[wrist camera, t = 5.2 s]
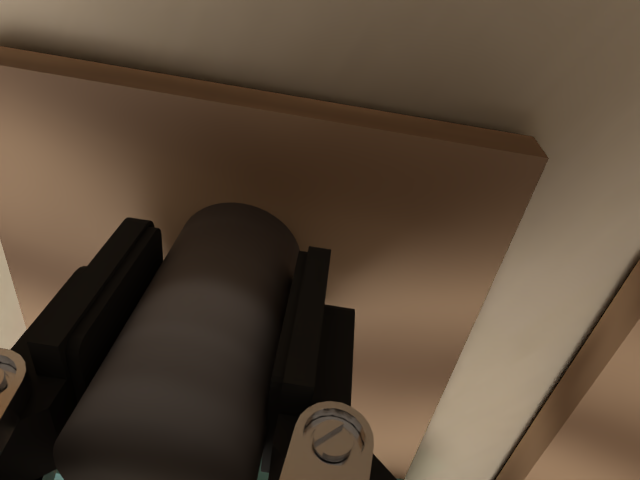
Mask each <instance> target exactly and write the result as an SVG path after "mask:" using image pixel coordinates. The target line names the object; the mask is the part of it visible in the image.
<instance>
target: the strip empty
mask: <svg viewBox="0 0 640 480" xmlns="http://www.w3.org/2000/svg"><path fill="white" fill-rule="evenodd" d="M496 480H640V260H639V261H638V263H637V264H636V266H635V267H634V269H633V270H632V272H631V273H630V275H629V276H628V278H627V279H626V281H625V282H624V284H623V286H622V287H621V289H620V290H619V292H618V293H617V295H616V296H615V298H614V299H613V301H612V302H611V304H610V305H609V307H608V308H607V310H606V311H605V313H604V315H603V316H602V318H601V319H600V321H599V322H598V324H597V325H596V327H595V328H594V330H593V331H592V333H591V334H590V336H589V337H588V339H587V341H586V342H585V344H584V345H583V347H582V348H581V350H580V351H579V353H578V354H577V356H576V357H575V359H574V360H573V362H572V363H571V365H570V367H569V368H568V370H567V371H566V373H565V374H564V376H563V377H562V379H561V380H560V382H559V383H558V385H557V386H556V388H555V389H554V391H553V393H552V394H551V396H550V397H549V399H548V400H547V402H546V403H545V405H544V406H543V408H542V409H541V411H540V412H539V414H538V415H537V417H536V418H535V420H534V422H533V423H532V425H531V426H530V428H529V429H528V431H527V432H526V434H525V435H524V437H523V438H522V440H521V441H520V443H519V444H518V446H517V448H516V449H515V451H514V452H513V454H512V455H511V457H510V458H509V460H508V461H507V463H506V464H505V466H504V467H503V469H502V470H501V472H500V474H499V475H498V477H497V478H496Z"/></svg>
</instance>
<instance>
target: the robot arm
mask: <svg viewBox="0 0 640 480" xmlns="http://www.w3.org/2000/svg"><path fill="white" fill-rule="evenodd" d="M330 257H331V249H325V248H319V247H312V246H309V248H308V252H305V251H299V253H298V257H297V262H296V266H295V271H294V275H293V280H292V285H291V289H290V294H289V298H288V303H287V307H286V312H285V317H284V321H283V326H282V330H281V335H280V339H279V344H278V349H277V353H276V358H275V362H274V367H273V372H272V378H271V384H270V391H269V400H268V409H267V418H266V427H267V430H266V438H265V443H264V448H263V454H262V463H261V472H267V473H269V477H268V480H397V479H396V478H395V477H394V476H393V475H392V473H391V472H390V471H389V470H388V469H387V468H386V467H385V466H384V465H383V464H382V462H381V461H380V460H379V459H378V458H377V457H376V456H375V455H374V454H373V449H374V436H373V432H372V430H371V427H370V424H369V423H368V421H367V420H366V419H365V418H364V416H363V415H362V414H361V413H360V412H358V411H357V410H356V409H354V408H353V407H351V394H352V372H353V350H354V328H355V309H351V308H345V307H339V306H332V305H326V304H325V297H326V289H327V281H328V273H329V265H330ZM162 262H163V248H162V234H161V230H160V229H159V228H155V227H154V223H153V222H152V221H150V220H143V219H137V218H131V217H127V218H126V219H124V221H123V222H122V223H121V224H120V226H119V227H118V228H117V229H116V231H115V232H114V233H113V234H112V236H111V237H110V238H109V239H108V240H107V242H106V243H105V244H104V245H103V247H102V248H101V249H100V250H99V252H98V253H97V254H96V255H95V257H94V258H93V259H92V260H91V262H90V263H89V264H88V265H87V266H82V267H79V268H78V269H77V270H76V271H75V272H74V273H73V274H72V276H71V277H70V278H69V279H68V280H67V282H66V283H65V284H64V285H63V286H62V288H61V289H60V290H59V291H58V293H57V294H56V295H55V296H54V297H53V299H52V300H51V301H50V302H49V303H48V305H47V306H46V307H45V308H44V310H43V311H42V312H41V313H40V314H39V316H38V317H37V318H36V319H35V320H34V322H33V323H32V324H31V325H30V327H29V328H28V329H27V330H26V331H25V333H24V334H23V335H22V336H21V337H20V339H19V340H18V341H17V342H16V344H15V345H14V346H13V347H12V348H11V350H8V349H3V348H0V480H54V478H55V475H56V471H57V468H56V466H55V463H54V459H53V447H54V444H55V441H56V439H57V438H58V436H59V434H60V433H61V431H62V429H63V428H64V426H65V424H66V423H67V421H68V419H69V418H70V416H71V414H72V413H73V411H74V409H75V408H76V406H77V404H78V403H79V401H80V399H81V398H82V396H83V394H84V392H85V391H86V389H87V387H88V386H89V384H90V382H91V381H92V379H93V377H94V376H95V374H96V372H97V371H98V369H99V367H100V366H101V364H102V362H103V361H104V359H105V357H106V356H107V354H108V352H109V351H110V349H111V347H112V346H113V344H114V342H115V341H116V339H117V337H118V336H119V334H120V332H121V331H122V329H123V327H124V326H125V324H126V322H127V321H128V319H129V317H130V316H131V314H132V312H133V311H134V309H135V307H136V306H137V304H138V302H139V301H140V299H141V297H142V296H143V294H144V292H145V291H146V289H147V287H148V286H149V284H150V282H151V281H152V279H153V277H154V276H155V274H156V272H157V271H158V269H159V267H160V266H161V264H162Z"/></svg>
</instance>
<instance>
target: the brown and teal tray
mask: <svg viewBox="0 0 640 480" xmlns="http://www.w3.org/2000/svg"><path fill="white" fill-rule="evenodd" d="M548 159H549V158H548V157H547V155H546V154H545V153H544V151H543V150H542V148H541V147H540V145H539V144H538V143H537V141H536V140H535V138H534V137H532V136H526V135H521V134H515V133H509V132H503V131H497V130H491V129H485V128H479V127H473V126H468V125H462V124H456V123H450V122H444V121H438V120H432V119H426V118H421V117H415V116H409V115H403V114H397V113H391V112H385V111H379V110H374V109H368V108H362V107H356V106H350V105H344V104H338V103H332V102H326V101H321V100H315V99H309V98H303V97H297V96H291V95H285V94H279V93H274V92H268V91H262V90H256V89H250V88H244V87H238V86H232V85H226V84H221V83H215V82H209V81H203V80H197V79H191V78H185V77H179V76H174V75H168V74H162V73H156V72H150V71H144V70H138V69H132V68H127V67H121V66H115V65H109V64H103V63H97V62H91V61H85V60H79V59H74V58H68V57H62V56H56V55H50V54H44V53H38V52H32V51H27V50H21V49H15V48H9V47H3V46H0V239H1V243H2V246H3V250H4V253H5V257H6V260H7V263H8V267H9V270H10V274H11V277H12V281H13V284H14V287H15V291H16V294H17V298H18V301H19V305H20V308H21V311H22V315H23V318H24V322H25V325H26V329H28V328H29V327H30V325H31V324H32V323H33V322H34V320H35V319H36V318H37V317H38V316H39V314H40V313H41V312H42V311H43V310H44V308H45V307H46V306H47V305H48V303H49V302H50V301H51V300H52V299H53V297H54V296H55V295H56V294H57V293H58V291H59V290H60V289H61V288H62V286H63V285H64V284H65V283H66V282H67V280H68V279H69V278H70V277H71V276H72V274H73V273H74V272H75V271H76V270H77V269H78V268H79V267H82V266H87V265H88V264H89V263H90V262H91V260H92V259H93V258H94V257H95V255H96V254H97V253H98V252H99V250H100V249H101V248H102V247H103V245H104V244H105V243H106V242H107V240H108V239H109V238H110V237H111V236H112V234H113V233H114V232H115V231H116V229H117V228H118V227H119V226H120V224H121V223H122V222H123V221H124V219H126V218H127V217H131V218H137V219H143V220H150V221H152V222H153V223H154V227H155V228H159V229H160V230H161V234H162V248H163V262H162V264H161V266H160V267H159V269H158V271H157V272H156V274H155V276H154V277H153V279H152V281H151V282H150V284H149V286H148V287H147V289H146V291H145V292H144V294H143V296H142V297H141V299H140V301H139V302H138V304H137V306H136V307H135V309H134V311H133V312H132V314H131V316H130V317H129V319H128V321H127V322H126V324H125V326H124V327H123V329H122V331H121V332H120V334H119V336H118V337H117V339H116V341H115V342H114V344H113V346H112V347H111V349H110V351H109V352H108V354H107V356H106V357H105V359H104V361H103V362H102V364H101V366H100V367H99V369H98V371H97V372H96V374H95V376H94V377H93V379H92V381H91V382H90V384H89V386H88V387H87V389H86V391H85V392H84V394H83V396H82V398H81V399H80V401H79V403H78V404H77V406H76V408H75V409H74V411H73V413H72V414H71V416H70V418H69V419H68V421H67V423H66V424H65V426H64V428H63V429H62V431H61V433H60V434H59V436H58V438H57V439H56V441H55V444H54V447H53V459H54V463H55V466H56V468H57V471H56V475H55V478H54V480H268V477H269V473H267V472H261V463H262V454H263V448H264V443H265V438H266V430H267V427H266V418H267V409H268V400H269V391H270V384H271V378H272V372H273V367H274V362H275V358H276V353H277V349H278V344H279V339H280V335H281V330H282V326H283V321H284V317H285V312H286V307H287V303H288V298H289V294H290V289H291V285H292V280H293V275H294V271H295V266H296V262H297V257H298V253H299V251H305V252H308V248H309V246H312V247H319V248H325V249H331V257H330V265H329V273H328V281H327V289H326V297H325V304H326V305H332V306H339V307H345V308H351V309H355V328H354V350H353V372H352V394H351V407H353V408H354V409H356V410H357V411H358V412H360V413H361V414H362V415H363V416H364V418H365V419H366V420H367V421H368V423H369V424H370V427H371V430H372V432H373V436H374V449H373V454H374V455H375V456H376V457H377V458H378V459H379V460H380V461H381V462H382V464H383V465H384V466H385V467H386V468H387V469H388V470H389V471H390V472H391V473H392V475H393V476H394V477H395V478H396V479H397V480H404V478H405V476H406V474H407V472H408V469H409V467H410V465H411V463H412V461H413V458H414V456H415V454H416V452H417V449H418V447H419V445H420V443H421V441H422V438H423V436H424V434H425V432H426V429H427V427H428V425H429V423H430V421H431V418H432V416H433V414H434V412H435V409H436V407H437V405H438V403H439V401H440V398H441V396H442V394H443V392H444V389H445V387H446V385H447V383H448V381H449V378H450V376H451V374H452V372H453V370H454V367H455V365H456V363H457V361H458V358H459V356H460V354H461V352H462V350H463V347H464V345H465V343H466V341H467V338H468V336H469V334H470V332H471V330H472V327H473V325H474V323H475V321H476V318H477V316H478V314H479V312H480V310H481V307H482V305H483V303H484V301H485V298H486V296H487V294H488V292H489V290H490V287H491V285H492V283H493V281H494V278H495V276H496V274H497V272H498V270H499V267H500V265H501V263H502V261H503V258H504V256H505V254H506V252H507V250H508V247H509V245H510V243H511V241H512V238H513V236H514V234H515V232H516V230H517V227H518V225H519V223H520V221H521V219H522V216H523V214H524V212H525V210H526V207H527V205H528V203H529V201H530V199H531V196H532V194H533V192H534V190H535V187H536V185H537V183H538V181H539V179H540V176H541V174H542V172H543V170H544V167H545V165H546V163H547V161H548Z"/></svg>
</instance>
